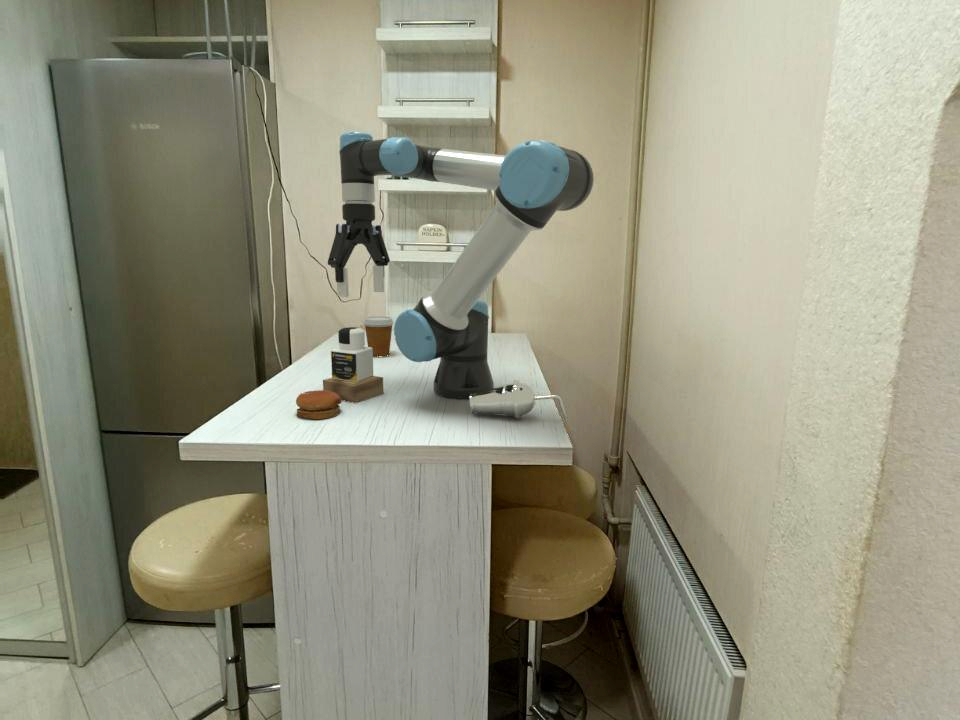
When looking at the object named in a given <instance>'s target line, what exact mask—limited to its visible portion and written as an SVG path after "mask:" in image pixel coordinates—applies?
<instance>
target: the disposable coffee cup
mask: <svg viewBox="0 0 960 720" xmlns="http://www.w3.org/2000/svg"><path fill="white" fill-rule="evenodd" d="M362 322H363V326H364V331H365V336H366V342H367V347H372V348H373V356H376V357H375V358H380V357H379V356H386V357H388V356H387V355H390V352H391V351H390V350H391V349H390V348H391V342H392V341H391V340H392V331H393V325H394V324H395V321H394V319H393V317H390V316H385V315H384V316H379V315H378V316H377V315H376V316H374V315H373V316H367V317H365V318H364V320H363V321H362ZM377 356H378V357H377Z"/></svg>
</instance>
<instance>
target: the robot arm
mask: <svg viewBox="0 0 960 720" xmlns="http://www.w3.org/2000/svg"><path fill="white" fill-rule="evenodd" d="M338 153H339V161H340V164H339V165H340V178H341V197H342V198H341V200H342V202H344V203H343V204H342V207H341V208H342V209H341V212H342V219H343V221H345V223H336V226H335V234H334V238H333V242H332V246H331V249H330V252H329V256H328V260H327V265H328V266H330V267H331V268H332V269H334V274H335V275H334V276H335V279H334V280H335V282H336V291H337V293H336V295H337V297H342V298H349V294H350V293H349V271H348V268H347V267H346V266H347V263H348V261H349V259H350V258H351V255H352V253H353V252H354V250H355V247H356V246H358V245H363V246H364V247H365V248H366V251H367V252H368V254H369V256H370V258H371V260H372V261H373V263H374V265H372V277H373V280H372V281H373V282H372V283H373V293H385V267H387V266H388V265H389V263H390V260H391V259H390V256H389V253H388V250H387V246H386V244H385V240H384V238H383V234H382V227H381V225H380V224H379V225H378V224H373V223H372V222H374V221H375V220H376V206H375V205H374V204H373V203H375V202H376V196H375V193H376V191H375V177H376V176H394V177H402V178H408V179H415V180H416V179H418V180H423V181H427V182H436V183H445V184H449V185H450V184H451V185H458V186H464V187H472V188H478V189H484V190H490V191H494V192H493V193H494V194H493V195H494V200H495V205H494V206H493V208H492V209H491V210H490V212H489V213H488V215H486V218H485V219H484V221H482V223H481V225H479V227H478V229H477V230H476V232H475V233H474V235H473V236H472V237H471V239H470V240H469V242H468V243H467V245H466V246H465V248H464V249H463V250H462V252H460V255H459V256H458V257H457V259H456V260H455V262H454V263H453V265H452V266H451V268H450V269H449V270H448V272H447V273H446V275H445V276H444V277H443V279H442V281H441V282H440V283H439V285H438V286H437V287H436V289H435V290H429V291H426V292H424V294H423V295H422V297H421V298H420V299H419V301H418V302H417V304H416V305H415V307H414V308H413V309H410V308H409V309H406V310H404V311H402V312H401V313H400V314H398V316H397V317H396V319H395V321H394V324H393V325H394V326H393V335H394V340H395V343H396V346H397V347H398V350H399V351H400V352H401V354H402V355H403V356H404V357H405V358H406V359H408V360H409V361H412V362H413V363H414V362H415V363H423V362H426V363H427V362H431V361H433V360H436V359H439V358H440V361H439V364H438V367H437V370H436V373H435V376H434V380H433V383H432V384H433V387H432V388H433V389H432V390H433V392H434V393H435V394H436V395H438V396H442V397H444V398H450V399H451V398H452V399H459V400H461V399H462V400H463V399H465V400H467V399H469V400H470V393H471V392H473V393H474V392H476V391H481V390H486V389H492V388H495V383H494V378H493V376H492V372H491V369H490V366H489V363H488V349H489V348H488V347H489V346H488V344H489V343H488V341H489V340H488V339H489V319H490V316H489V307H488V304H487V303H486V302H485V301H482V300H479V299H481V297H482V296H483V294H484V293H485V292H486V291H487V289H488V288H489V287H490V285H491V284H492V283H493V282H494V280H495V279H496V277H497V276H498V275H499V273H500V272H501V271H502V270H503V268H504V267H505V265H506V264H507V263H508V262H509V260H510V259H511V258H512V257H513V255H514V254H515V253H516V251H517V249H519V247H520V246H521V244H522V243H523V242H524V241H525V239H527V237H528V235H529V234H530V233H531V232H532V231H540V230H543V229H544V228H545V226H546V225H547V224H548V222H549V221H550V219H551V218H553V216H554V214H556V212H566V211H572V210H574V209H576V208H579V206H581V205H582V204H583V203H584V202H585V201H586V200H587V199H588V198H589V196H590V195H591V192H592V189H593V186H594V172H593V168H592V165H591V164H590V162H589V161H588V159H587V158H586V157H585V156H584V155H583V154H582V153H579V152H578V151H576V150H573V149H569V148H565V147H563V146H560V145H557V144H555V143H554V142H551V141H547V140H527V141H524V142H521V143H519V144H517V145H516V146H514V147H513V148H512V149H511V150H509V151H508V153H507V154H506V155H505V154H504V155H503V154H497V153H488V152H487V153H486V152H478V151H477V152H475V151H467V150H466V151H464V150H459V149H457V150H456V149H449V148H439V147H429V146H424V145H419V144H415V143H414V142H412V141H411V139H410V138H408V137H396V136H393V137H389V138H384V139H375V140H374V139H373V135H371V133H368V132H365V131H364V132H363V131H347V132H346V131H345V132H343V133H341V135H340V137H339V150H338Z"/></svg>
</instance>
